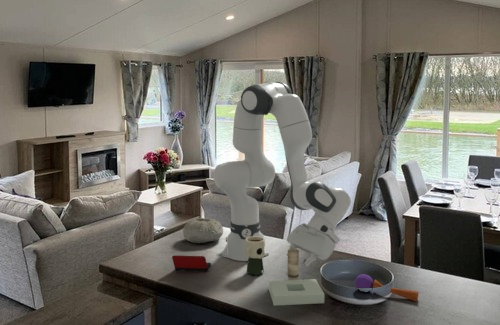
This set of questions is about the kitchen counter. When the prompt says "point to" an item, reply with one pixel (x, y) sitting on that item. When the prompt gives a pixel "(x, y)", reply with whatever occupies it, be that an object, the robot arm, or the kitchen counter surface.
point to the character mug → (255, 254)
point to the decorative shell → (202, 230)
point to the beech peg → (293, 264)
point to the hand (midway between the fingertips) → (296, 260)
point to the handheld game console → (190, 263)
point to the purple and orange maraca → (367, 282)
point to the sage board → (296, 292)
